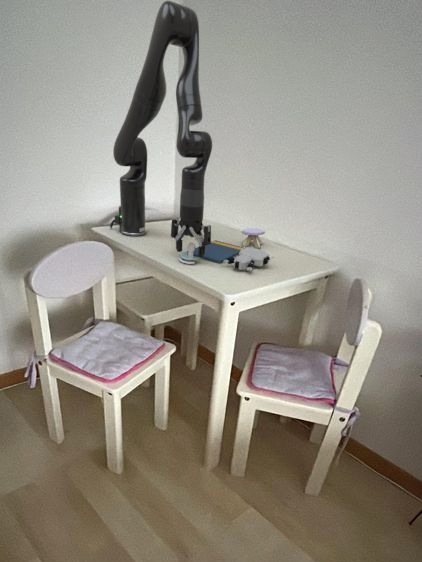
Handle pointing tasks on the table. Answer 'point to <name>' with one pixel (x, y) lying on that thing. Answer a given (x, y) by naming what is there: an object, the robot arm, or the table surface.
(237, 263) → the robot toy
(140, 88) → the robot arm
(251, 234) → the toy table
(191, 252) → the pacifier
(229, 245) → the blue book
